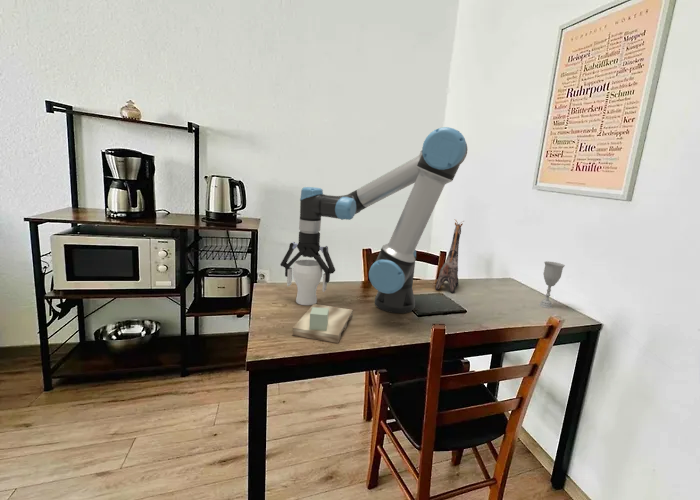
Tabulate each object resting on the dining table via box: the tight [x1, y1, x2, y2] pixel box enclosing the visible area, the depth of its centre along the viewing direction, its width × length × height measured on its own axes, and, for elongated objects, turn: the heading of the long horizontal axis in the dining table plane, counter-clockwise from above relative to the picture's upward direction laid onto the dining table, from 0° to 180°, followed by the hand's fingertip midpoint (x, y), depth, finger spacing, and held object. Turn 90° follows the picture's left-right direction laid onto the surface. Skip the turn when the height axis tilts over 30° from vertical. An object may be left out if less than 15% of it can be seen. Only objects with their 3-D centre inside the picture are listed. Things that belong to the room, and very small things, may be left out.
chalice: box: [538, 260, 566, 309], centre depth 144 cm, size 7×7×18 cm
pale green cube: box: [309, 307, 329, 331], centre depth 106 cm, size 5×5×5 cm
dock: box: [292, 303, 354, 344], centre depth 113 cm, size 14×20×2 cm
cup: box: [292, 258, 323, 306], centre depth 130 cm, size 11×11×15 cm
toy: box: [434, 219, 465, 294], centre depth 157 cm, size 9×26×30 cm, turn 156°
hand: (306, 287), depth 131 cm, fingers open, 13 cm apart
